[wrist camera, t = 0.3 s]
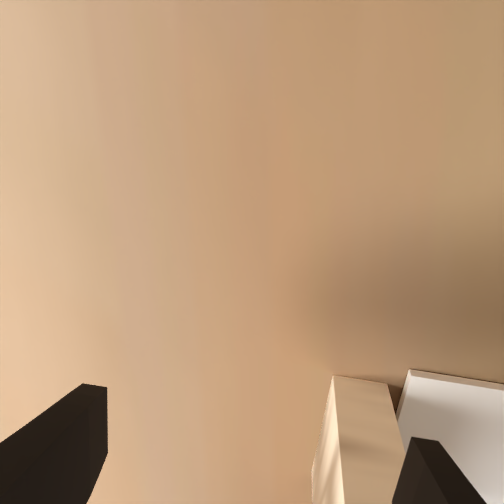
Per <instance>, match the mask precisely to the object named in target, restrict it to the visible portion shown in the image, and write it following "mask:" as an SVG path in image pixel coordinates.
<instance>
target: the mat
mask: <svg viewBox="0 0 504 504" xmlns="http://www.w3.org/2000/svg"><path fill="white" fill-rule="evenodd" d="M395 416H396V420H397V423H398V427H399V431H400V435H401V439H402V443H403V446H404V450H405V454H406V452H407V449H408V446H409V443H410V439H411V436H412V437H418V438H424V439H430V440H437V441H439V442H440V444H441V445H442V446H443V447H444V449H445V450H446V451H447V453H448V454H449V455H450V456H451V458H452V459H453V460H454V462H455V463H456V464H457V466H458V467H459V468H460V470H461V471H462V472H463V474H464V475H465V476H466V478H467V479H468V480H469V481H470V483H471V484H472V485H473V487H474V488H475V489H476V490H477V492H478V493H479V494H480V496H481V497H482V498H483V499H484V501H485V502H486V503H487V504H504V384H499V383H493V382H487V381H480V380H474V379H468V378H462V377H455V376H449V375H443V374H437V373H431V372H424V371H418V370H412V369H409V371H408V374H407V378H406V381H405V384H404V388H403V391H402V395H401V398H400V401H399V405H398V408H397V412H396V415H395Z"/></svg>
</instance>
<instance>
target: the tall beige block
mask: <svg viewBox="0 0 504 504" xmlns="http://www.w3.org/2000/svg"><path fill="white" fill-rule="evenodd" d="M405 456H406V454H405V450H404V446H403V443H402V439H401V435H400V431H399V427H398V423H397V420H396V416H395V412H394V408H393V404H392V400H391V397H390V393H389V389H388V385H387V384H386V383H380V382H374V381H368V380H361V379H355V378H349V377H343V376H337V375H333V377H332V381H331V386H330V390H329V395H328V399H327V404H326V408H325V413H324V417H323V422H322V426H321V431H320V435H319V440H318V445H317V449H316V454H315V458H314V463H313V467H312V504H392V499H393V495H394V492H395V489H396V486H397V482H398V479H399V476H400V472H401V469H402V466H403V462H404V459H405Z"/></svg>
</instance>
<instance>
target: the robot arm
mask: <svg viewBox="0 0 504 504" xmlns="http://www.w3.org/2000/svg"><path fill="white" fill-rule="evenodd" d="M107 454H108V428H107V387H102V386H96V385H89V384H81V385H80V386H78V387H77V388H76V389H74V390H73V391H71V392H70V393H69V394H67V395H66V396H64V397H63V398H62V399H60V400H59V401H58V402H56V403H55V404H54V405H52V406H51V407H50V408H48V409H47V410H46V411H44V412H43V413H41V414H40V415H39V416H37V417H36V418H35V419H33V420H32V421H30V422H29V423H28V424H26V425H25V426H23V427H22V428H21V429H19V430H18V431H16V432H15V433H14V434H12V435H11V436H9V437H8V438H7V439H5V440H4V441H2V442H1V443H0V504H86V503H87V501H88V499H89V497H90V496H91V493H92V491H93V488H94V486H95V484H96V481H97V479H98V476H99V474H100V471H101V469H102V466H103V464H104V461H105V459H106V456H107ZM392 504H487V503H486V502H485V501H484V499H483V498H482V497H481V496H480V494H479V493H478V492H477V490H476V489H475V488H474V487H473V485H472V484H471V483H470V481H469V480H468V479H467V478H466V476H465V475H464V474H463V472H462V471H461V470H460V468H459V467H458V466H457V464H456V463H455V462H454V460H453V459H452V458H451V456H450V455H449V454H448V453H447V451H446V450H445V449H444V447H443V446H442V445H441V444H440V442H439V441H437V440H430V439H424V438H418V437H412V436H411V439H410V443H409V446H408V449H407V452H406V456H405V459H404V462H403V466H402V469H401V472H400V476H399V479H398V482H397V486H396V489H395V492H394V495H393V499H392Z"/></svg>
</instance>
